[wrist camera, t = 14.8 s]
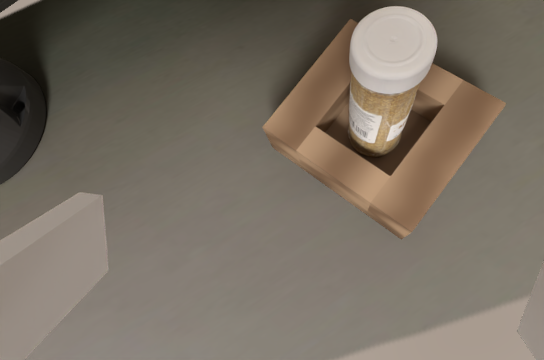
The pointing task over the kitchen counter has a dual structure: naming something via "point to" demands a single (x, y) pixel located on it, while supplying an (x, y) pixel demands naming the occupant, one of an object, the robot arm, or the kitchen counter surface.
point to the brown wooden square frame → (396, 164)
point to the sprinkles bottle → (386, 75)
